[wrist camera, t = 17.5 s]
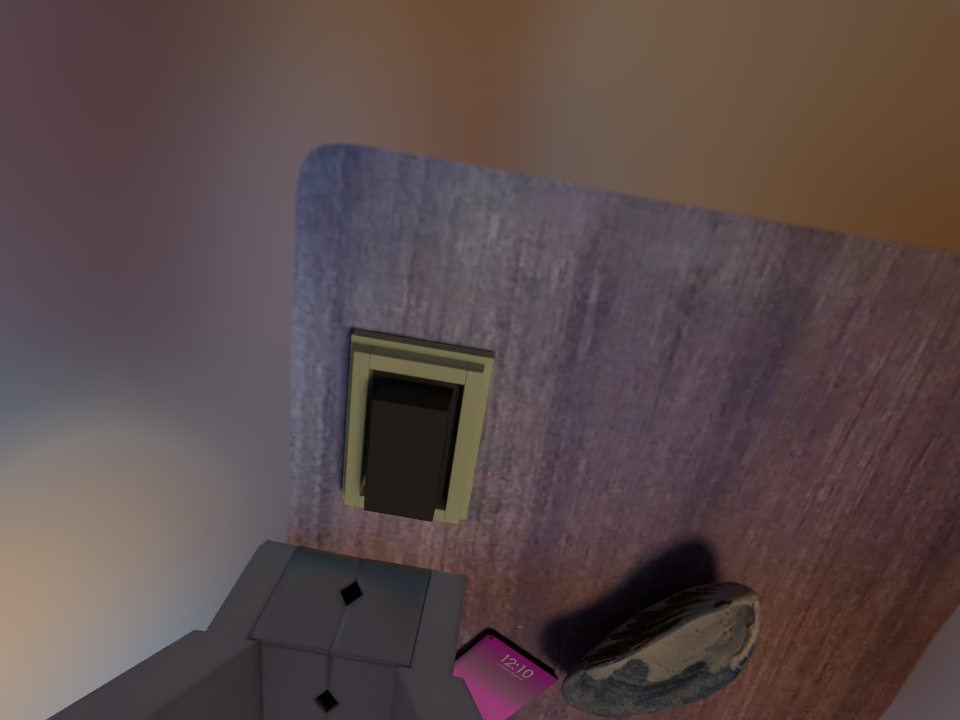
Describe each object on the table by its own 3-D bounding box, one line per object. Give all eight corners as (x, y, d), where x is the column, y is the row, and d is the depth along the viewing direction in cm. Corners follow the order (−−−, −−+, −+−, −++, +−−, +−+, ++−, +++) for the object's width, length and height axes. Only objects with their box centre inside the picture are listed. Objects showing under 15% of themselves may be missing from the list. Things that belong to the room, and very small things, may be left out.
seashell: (576, 529, 41) (581, 582, 36) (757, 546, 40) (786, 603, 35) (553, 678, 47) (556, 740, 42) (710, 695, 46) (730, 760, 42)
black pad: (384, 376, 36) (372, 399, 33) (454, 388, 36) (447, 412, 33) (375, 482, 39) (363, 510, 36) (439, 493, 39) (432, 522, 36)
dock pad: (355, 328, 36) (345, 342, 34) (495, 352, 36) (493, 367, 34) (345, 490, 41) (336, 509, 39) (467, 511, 41) (464, 532, 39)
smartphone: (381, 717, 50) (378, 727, 49) (491, 628, 45) (490, 638, 44) (446, 756, 52) (444, 767, 51) (560, 674, 46) (560, 685, 45)
